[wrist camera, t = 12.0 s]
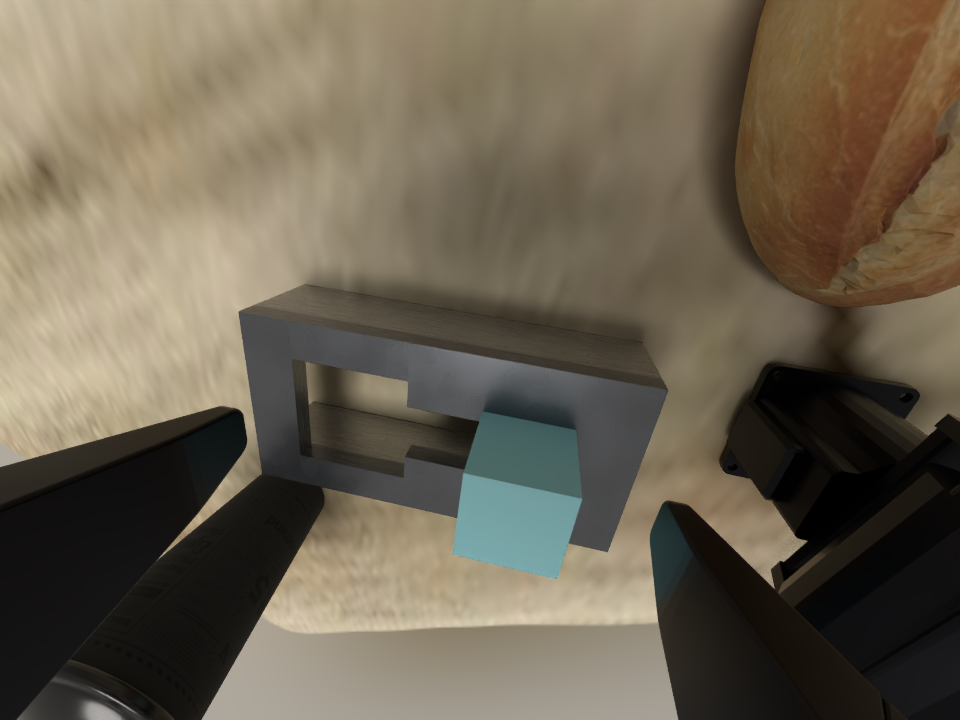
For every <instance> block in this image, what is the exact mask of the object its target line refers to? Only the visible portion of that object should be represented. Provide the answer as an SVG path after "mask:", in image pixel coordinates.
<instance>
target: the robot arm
mask: <svg viewBox="0 0 960 720" xmlns="http://www.w3.org/2000/svg"><path fill="white" fill-rule="evenodd" d="M777 371H781V372H780V374H779V375H778V376H776V377H773V374H774V373H775V372H777ZM905 393H906V394H905ZM902 394H905V396H903V397H902V398H900V396H901V395H902ZM919 397H920V394H919V392H918V391H917V390H916V389H914V388H913V387H911V386H909V385H906V384H901V383H895V382H889V381H883V380H877V379H872V378H866V377H860V376H854V375H848V374H842V373H837V372H831V371H825V370H819V369H813V368H807V367H802V366H796V365H790V364H784V363H772V364H769V365H768V366H766V367H765V369H764V370H763V372H762V374H761V376H760V378H759V381H758V383H757V385H756V387H755V389H754V391H753V393H752V395H751V397H750V399H749V400H748V401H747V402H746V403H745V404H744V406H743V408H742V410H741V413H740V415H739V417H738V419H737V421H736V423H735V425H734V427H733V429H732V431H731V433H730V435H729V438H728V440H727V444H728V445H727V447H726V449H725V451H724V453H723V455H722V457H721V459H720V466H721V468H722V470H723V471H724V472H725V473H727V474H730V475H735V476H740V477H745V478H750V479H751V480H752V481H753V483H754V484H755V486H756V487H757V489H758V490H759V492H760V493H761V495H762V496H763V498H764V499H765V500H769V501H772V502H773V504H774V505H775V507H776V508H777V510H778V511H779V513H780V514H781V515H782V517H783V518H784V520H785V521H786V523H787V524H788V526H789V527H790V529H791V530H792V532H793V533H794V535H795V536H796V537H797V538H799V539H802V540H807V542H806V543H805V544H804V545H803V546H802V547H801V548H799V549H798V550H797V551H796V552H795V553H794V554H792V555H791V556H790V557H789V558H788V559H787V560H786V561H784V562H782V561H780V562H779V563H777V564H776V565H775V566H774V567H773V568H772V569H771V573H772V577H773V582H774V587H775V589H774V588H773V587H772V586H771V585H770V584H769V583H768V582H767V581H766V580H765V579H764V578H763V577H762V576H761V575H760V574H758V573H757V572H756V571H755V570H754V569H753V568H752V567H751V566H750V565H749V564H748V563H747V562H746V561H745V560H744V559H743V558H742V557H741V556H740V555H739V554H738V553H737V552H736V551H735V550H734V549H733V548H732V547H731V546H730V545H729V544H728V543H727V542H726V541H725V540H724V539H723V538H722V537H721V536H720V535H719V534H718V533H717V532H716V531H715V530H714V529H713V528H712V527H710V526H709V525H708V524H707V523H706V522H705V521H704V520H703V519H702V518H701V517H700V516H699V515H698V514H697V513H696V512H695V511H694V510H693V509H692V508H691V507H690V506H689V505H687V504H683V503H679V502H674V501H665V502H664V503H663V504H662V506H661V508H660V511H659V513H658V515H657V518H656V520H655V522H654V525H653V527H652V529H651V533H650V547H651V557H652V567H653V577H654V587H655V597H656V607H657V615H658V623H659V628H660V633H661V638H662V643H663V648H664V653H665V658H666V662H667V667H668V672H669V677H670V682H671V687H672V691H673V696H674V701H675V706H676V710H677V715H678V720H960V418H958V417H955V416H953V415H951V414H947V415H946V416H945V417H944V418H943V419H941V420H940V421H939V422H938V423H937V424H936V425H935V427H937V429H936V430H935V431H934V432H933V433H931V434H930V435H929V436H928V435H926V434H925V433H923V432H922V431H920V430H919V429H917V428H916V427H915V426H913V425H912V424H910V423H909V422H907V421H906V420H905V418H906V417H907V415H908V414H909V412H910V411H911V410H912V408H913V407H914V405H915V404H916V402H917V401H918V399H919ZM246 445H247V435H246V429H245V422H244V416H243V413H242V412H241V411H240V410H239V409H235V408H230V407H226V406H219V407H215V408H212V409H208V410H204V411H201V412H197V413H194V414H190V415H186V416H183V417H179V418H176V419H172V420H168V421H165V422H161V423H158V424H154V425H150V426H147V427H143V428H140V429H136V430H132V431H129V432H125V433H122V434H118V435H114V436H111V437H107V438H104V439H100V440H96V441H93V442H89V443H86V444H82V445H78V446H75V447H71V448H68V449H64V450H61V451H57V452H53V453H50V454H46V455H43V456H39V457H35V458H32V459H28V460H25V461H21V462H17V463H14V464H10V465H7V466H3V467H0V720H17V719H18V718H19V717H20V715H21V714H22V713H23V712H24V711H25V710H26V709H27V707H28V706H29V705H30V704H31V703H32V702H33V701H34V700H35V698H36V697H37V696H38V695H39V694H40V693H41V692H42V690H43V689H44V688H45V687H46V686H47V685H48V684H49V682H50V681H51V680H52V679H53V678H54V677H55V676H56V674H57V673H58V672H59V671H60V670H61V669H62V668H63V667H64V665H65V664H66V663H67V662H68V661H69V660H70V659H71V657H72V656H73V655H74V654H75V653H76V652H77V651H78V649H79V648H80V647H81V646H82V645H83V644H84V643H85V642H86V640H87V639H88V638H89V637H90V636H91V635H92V634H93V632H94V631H95V630H96V629H97V628H98V627H99V626H100V624H101V623H102V622H103V621H104V620H105V619H106V618H107V616H108V615H109V614H110V613H111V612H112V611H113V610H114V609H115V607H116V606H117V605H118V604H119V603H120V602H121V601H122V599H123V598H124V597H125V596H126V595H127V594H128V593H129V591H130V590H131V589H132V588H133V587H134V586H135V585H136V583H137V582H138V581H139V580H140V579H141V578H142V577H143V576H144V574H145V573H146V572H147V571H148V570H149V569H150V568H151V566H152V565H153V564H154V563H155V562H156V561H157V560H158V558H159V557H160V556H161V555H162V554H163V553H164V552H165V551H166V549H167V548H168V547H169V546H170V545H171V544H172V543H173V541H174V540H175V539H176V538H177V537H178V536H179V535H180V533H181V532H182V531H183V530H184V529H185V528H186V527H187V525H188V524H189V523H190V522H191V521H192V520H193V519H194V517H195V516H196V515H197V514H198V513H199V511H200V510H201V509H202V508H203V506H204V505H205V504H206V502H207V501H208V500H209V498H210V497H211V496H212V494H213V493H214V492H215V490H216V489H217V487H218V486H219V485H220V483H221V482H222V481H223V479H224V478H225V476H226V475H227V474H228V472H229V471H230V470H231V468H232V467H233V466H234V464H235V463H236V461H237V460H238V459H239V457H240V456H241V455H242V453H243V452H244V450H245V448H246ZM731 463H735V464H734V465H732V466H728V465H729V464H731Z"/></svg>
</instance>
